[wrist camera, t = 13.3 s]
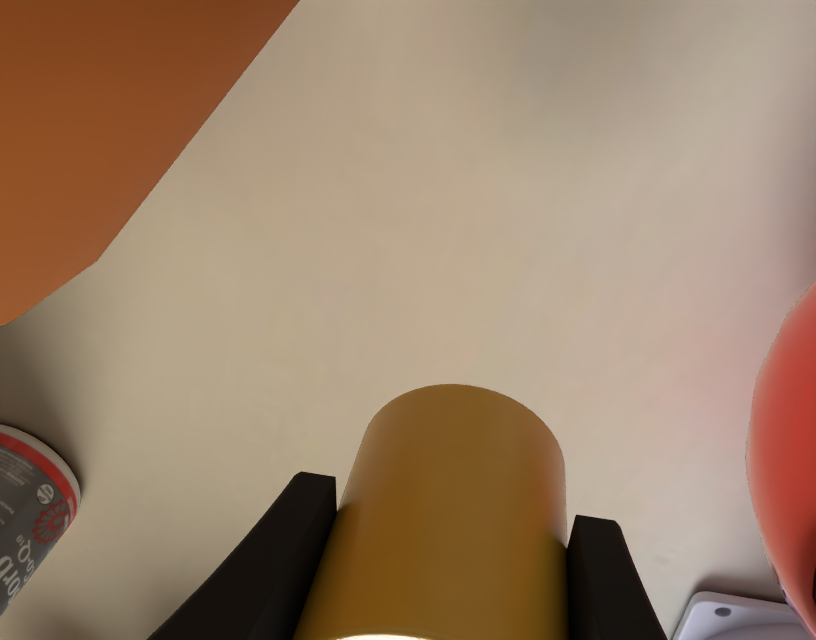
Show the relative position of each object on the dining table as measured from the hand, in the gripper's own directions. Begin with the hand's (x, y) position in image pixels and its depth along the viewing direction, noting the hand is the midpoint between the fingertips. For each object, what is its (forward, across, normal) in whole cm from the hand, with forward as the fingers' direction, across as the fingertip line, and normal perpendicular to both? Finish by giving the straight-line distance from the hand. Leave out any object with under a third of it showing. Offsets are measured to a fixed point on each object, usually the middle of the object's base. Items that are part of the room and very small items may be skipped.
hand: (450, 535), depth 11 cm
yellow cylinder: (+2, 0, 0) cm, 2 cm away
